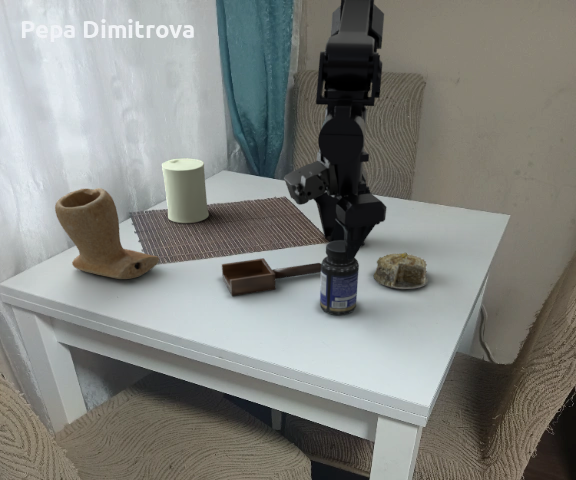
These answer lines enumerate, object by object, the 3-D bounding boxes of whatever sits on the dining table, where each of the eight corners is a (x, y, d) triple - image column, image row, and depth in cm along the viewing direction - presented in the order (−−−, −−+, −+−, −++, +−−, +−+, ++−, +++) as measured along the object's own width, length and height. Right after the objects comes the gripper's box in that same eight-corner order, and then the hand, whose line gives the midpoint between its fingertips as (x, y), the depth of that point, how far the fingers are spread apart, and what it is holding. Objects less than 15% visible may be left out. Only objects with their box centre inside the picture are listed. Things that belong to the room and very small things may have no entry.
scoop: (315, 265, 110) (316, 250, 108) (329, 281, 104) (330, 265, 103) (222, 279, 105) (221, 264, 103) (232, 296, 100) (231, 280, 98)
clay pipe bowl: (57, 275, 106) (36, 194, 97) (102, 252, 115) (87, 176, 106) (118, 294, 100) (102, 210, 91) (162, 268, 109) (151, 189, 100)
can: (187, 206, 136) (182, 153, 128) (217, 214, 131) (212, 160, 124) (159, 217, 130) (152, 163, 122) (189, 226, 125) (183, 170, 118)
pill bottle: (361, 304, 97) (367, 243, 91) (345, 320, 93) (349, 257, 87) (330, 295, 100) (333, 235, 93) (312, 310, 96) (314, 248, 89)
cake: (363, 275, 107) (364, 247, 105) (408, 267, 111) (410, 240, 108) (391, 294, 100) (393, 265, 97) (439, 285, 103) (442, 256, 100)
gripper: (270, 132, 86) (272, 232, 96) (314, 167, 72) (310, 280, 81) (339, 127, 89) (334, 224, 98) (393, 160, 75) (381, 269, 84)
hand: (338, 247), depth 91 cm, fingers open, 9 cm apart
